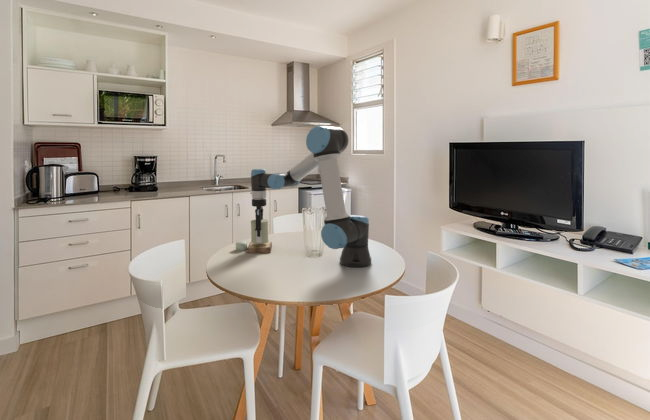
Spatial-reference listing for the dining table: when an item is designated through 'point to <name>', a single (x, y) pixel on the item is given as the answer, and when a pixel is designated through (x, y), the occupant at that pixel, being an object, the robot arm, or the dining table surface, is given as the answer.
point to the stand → (259, 248)
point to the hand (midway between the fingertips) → (259, 240)
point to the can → (263, 228)
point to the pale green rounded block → (241, 246)
